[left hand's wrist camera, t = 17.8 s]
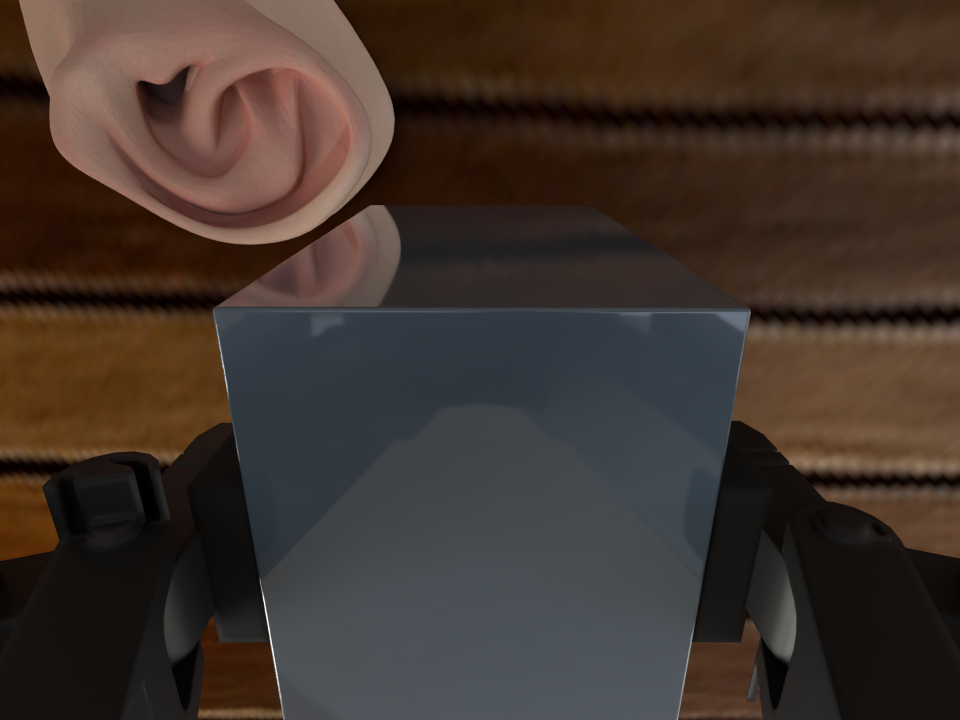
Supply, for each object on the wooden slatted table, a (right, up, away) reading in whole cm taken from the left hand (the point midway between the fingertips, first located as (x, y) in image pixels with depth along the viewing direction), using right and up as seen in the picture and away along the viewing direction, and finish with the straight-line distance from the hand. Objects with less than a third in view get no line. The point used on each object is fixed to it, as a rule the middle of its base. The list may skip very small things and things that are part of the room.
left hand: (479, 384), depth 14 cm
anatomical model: (-10, +11, +8) cm, 17 cm away
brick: (0, +1, +3) cm, 4 cm away
